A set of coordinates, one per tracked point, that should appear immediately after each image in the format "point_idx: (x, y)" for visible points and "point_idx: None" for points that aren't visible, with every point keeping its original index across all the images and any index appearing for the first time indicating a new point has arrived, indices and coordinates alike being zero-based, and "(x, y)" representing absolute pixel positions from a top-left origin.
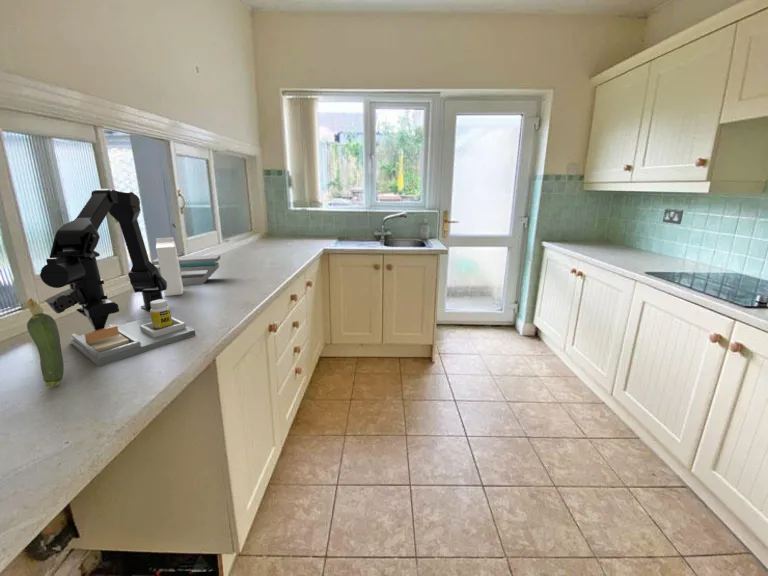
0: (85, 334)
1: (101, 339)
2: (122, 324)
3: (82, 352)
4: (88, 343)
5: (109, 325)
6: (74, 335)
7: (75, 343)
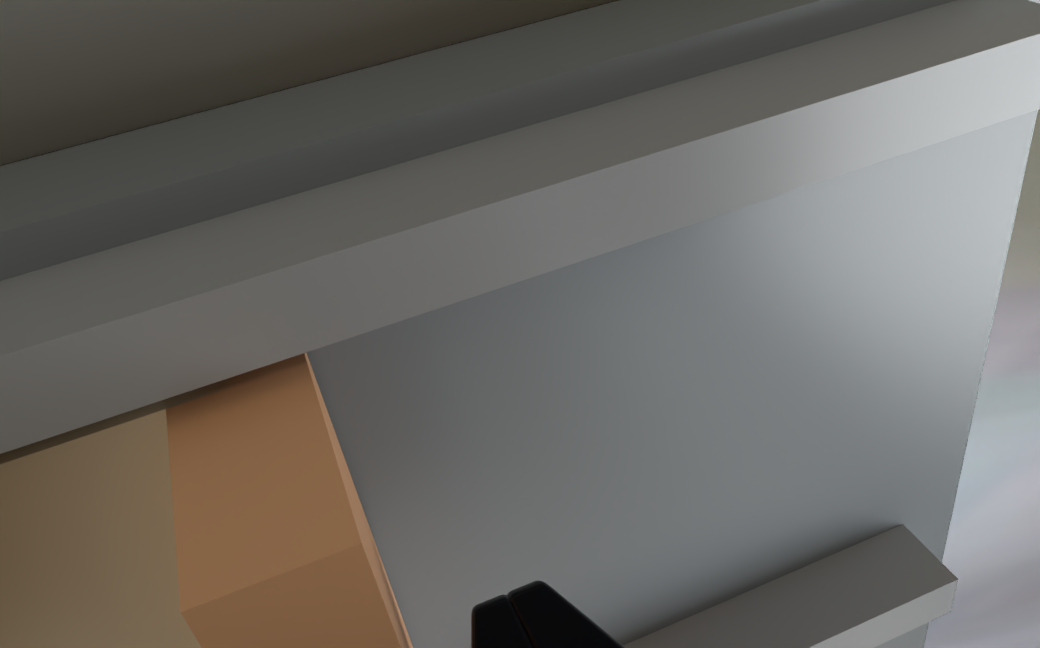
0: (185, 612)
1: (195, 641)
2: (915, 636)
3: (97, 146)
4: (92, 424)
5: (915, 600)
6: (950, 88)
7: (629, 45)
